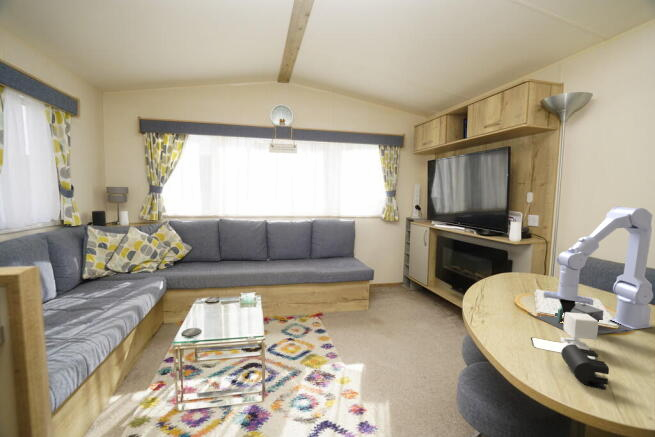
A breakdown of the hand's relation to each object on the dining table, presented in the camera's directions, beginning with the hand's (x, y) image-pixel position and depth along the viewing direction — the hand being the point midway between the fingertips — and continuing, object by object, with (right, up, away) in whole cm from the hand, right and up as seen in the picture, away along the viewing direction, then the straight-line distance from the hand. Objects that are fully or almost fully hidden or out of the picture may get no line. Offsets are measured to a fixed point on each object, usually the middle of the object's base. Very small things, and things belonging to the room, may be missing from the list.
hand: (565, 319), depth 115 cm
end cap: (-20, -5, -32) cm, 38 cm away
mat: (+6, -1, +2) cm, 6 cm away
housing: (+9, -1, +2) cm, 9 cm away
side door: (0, -1, +3) cm, 3 cm away
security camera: (-9, -4, -16) cm, 18 cm away
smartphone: (-15, -4, -17) cm, 23 cm away
